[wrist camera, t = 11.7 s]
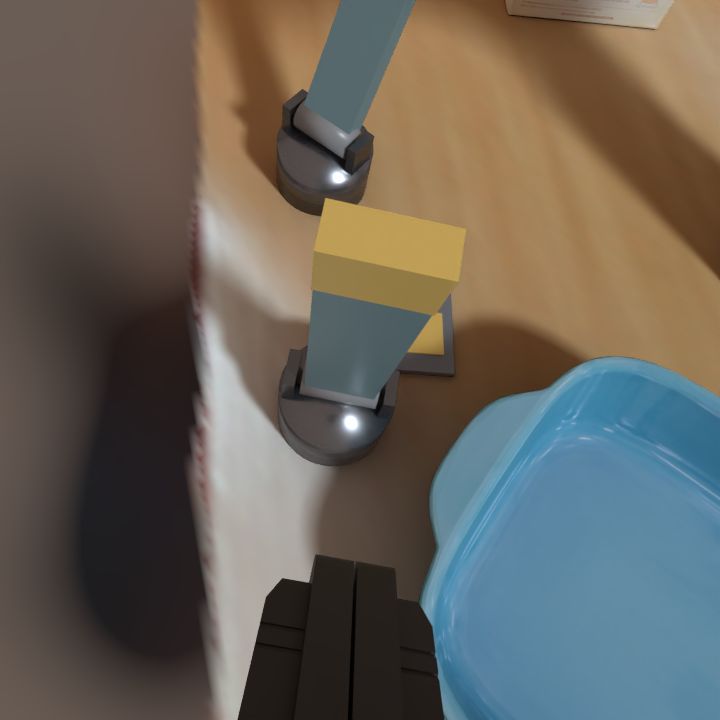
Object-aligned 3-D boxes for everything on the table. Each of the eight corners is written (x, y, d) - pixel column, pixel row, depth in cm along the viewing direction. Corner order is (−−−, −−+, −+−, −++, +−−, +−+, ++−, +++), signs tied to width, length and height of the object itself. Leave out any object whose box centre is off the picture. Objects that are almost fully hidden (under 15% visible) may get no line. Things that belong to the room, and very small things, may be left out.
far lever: (338, 161, 38) (483, -182, 27) (289, 128, 38) (412, -220, 28) (353, 157, 39) (494, -170, 29) (305, 125, 40) (427, -206, 29)
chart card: (384, 227, 41) (386, 223, 41) (445, 234, 42) (448, 229, 41) (384, 371, 37) (386, 367, 36) (453, 376, 37) (455, 372, 37)
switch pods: (276, 143, 43) (277, 80, 38) (363, 148, 44) (375, 87, 39) (276, 467, 33) (278, 438, 28) (389, 465, 34) (409, 436, 29)
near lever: (372, 412, 32) (462, 292, 15) (299, 397, 31) (305, 258, 15) (378, 376, 32) (473, 221, 15) (306, 361, 32) (321, 188, 15)
